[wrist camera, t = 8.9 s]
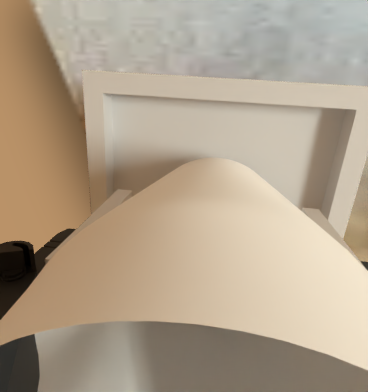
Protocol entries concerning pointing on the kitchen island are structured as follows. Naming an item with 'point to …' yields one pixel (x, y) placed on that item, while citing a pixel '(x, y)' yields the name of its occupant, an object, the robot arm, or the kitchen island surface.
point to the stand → (228, 134)
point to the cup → (199, 295)
